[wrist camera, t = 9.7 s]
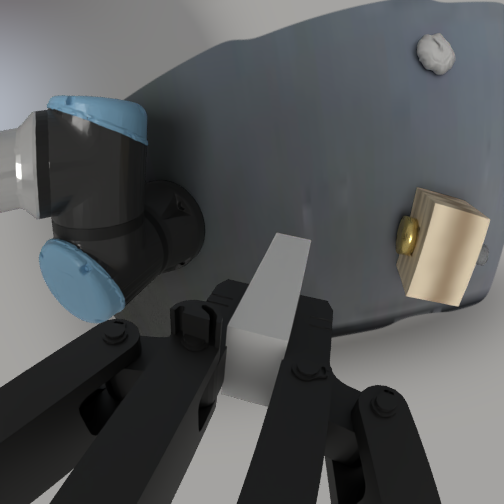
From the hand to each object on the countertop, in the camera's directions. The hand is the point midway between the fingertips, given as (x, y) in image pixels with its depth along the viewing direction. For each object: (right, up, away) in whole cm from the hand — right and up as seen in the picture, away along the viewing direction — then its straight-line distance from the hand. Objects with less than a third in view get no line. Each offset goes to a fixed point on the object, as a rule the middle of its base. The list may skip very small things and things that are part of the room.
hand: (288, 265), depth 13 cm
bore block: (+24, +3, +25) cm, 35 cm away
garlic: (+22, +27, +16) cm, 38 cm away
